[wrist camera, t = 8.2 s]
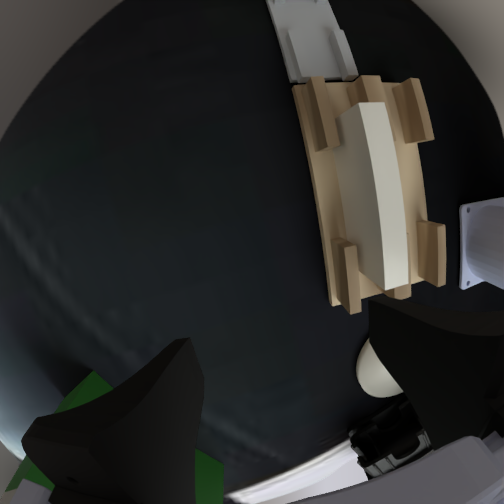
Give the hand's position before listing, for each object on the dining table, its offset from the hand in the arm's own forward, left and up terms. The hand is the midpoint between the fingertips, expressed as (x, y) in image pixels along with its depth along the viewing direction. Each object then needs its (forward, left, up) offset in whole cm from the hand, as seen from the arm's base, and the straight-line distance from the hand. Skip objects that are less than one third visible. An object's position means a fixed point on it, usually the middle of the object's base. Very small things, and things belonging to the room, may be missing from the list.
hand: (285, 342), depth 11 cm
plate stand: (-7, -18, -10) cm, 22 cm away
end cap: (-11, +21, -10) cm, 26 cm away
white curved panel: (-7, -4, -9) cm, 12 cm away
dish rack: (-9, -4, -10) cm, 14 cm away
